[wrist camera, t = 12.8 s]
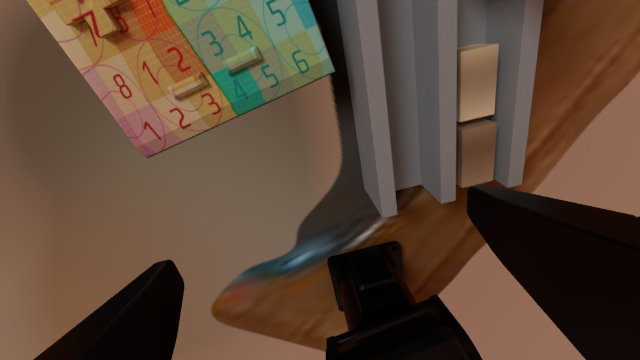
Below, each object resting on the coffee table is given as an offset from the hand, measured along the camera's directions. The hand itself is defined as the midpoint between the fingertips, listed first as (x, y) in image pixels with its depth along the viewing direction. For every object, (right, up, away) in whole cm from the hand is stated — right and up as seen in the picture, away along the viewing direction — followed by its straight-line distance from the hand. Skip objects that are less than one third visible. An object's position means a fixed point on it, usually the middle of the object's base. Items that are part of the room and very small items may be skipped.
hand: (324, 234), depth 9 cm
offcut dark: (+10, +4, +12) cm, 16 cm away
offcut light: (+9, +8, +10) cm, 16 cm away
